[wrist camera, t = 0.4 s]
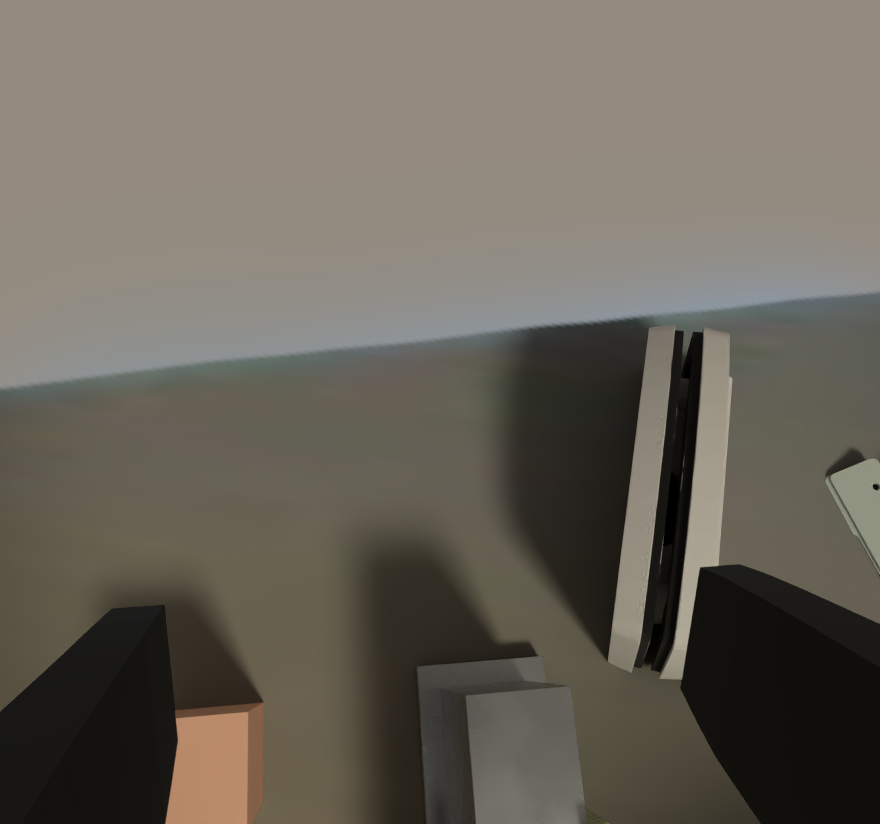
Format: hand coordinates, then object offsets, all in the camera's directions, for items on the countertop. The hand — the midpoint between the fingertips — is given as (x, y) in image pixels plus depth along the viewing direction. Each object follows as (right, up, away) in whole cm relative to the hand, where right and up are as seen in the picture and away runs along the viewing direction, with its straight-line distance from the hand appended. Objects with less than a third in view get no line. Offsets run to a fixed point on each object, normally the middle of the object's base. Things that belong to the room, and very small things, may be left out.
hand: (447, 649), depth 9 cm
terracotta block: (-10, -12, +22) cm, 27 cm away
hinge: (+11, -2, +29) cm, 31 cm away
